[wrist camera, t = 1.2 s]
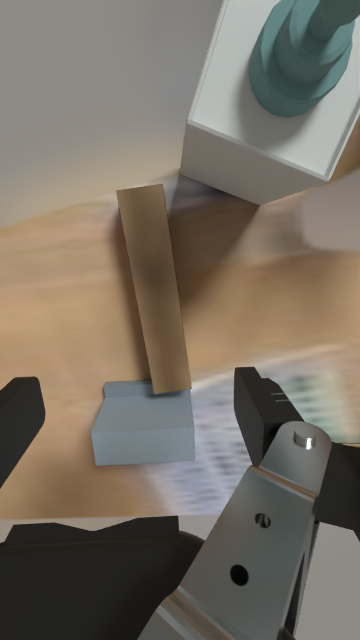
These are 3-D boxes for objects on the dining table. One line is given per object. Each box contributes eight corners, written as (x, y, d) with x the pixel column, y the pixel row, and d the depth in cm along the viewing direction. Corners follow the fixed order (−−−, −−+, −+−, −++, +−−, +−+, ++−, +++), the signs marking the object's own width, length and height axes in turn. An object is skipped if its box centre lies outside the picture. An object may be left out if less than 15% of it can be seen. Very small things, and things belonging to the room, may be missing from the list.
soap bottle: (209, 71, 24) (317, -404, 6) (298, 111, 26) (612, -197, 7) (177, 173, 27) (188, 43, 9) (260, 206, 28) (427, 152, 10)
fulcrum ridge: (189, 378, 33) (194, 414, 27) (190, 427, 35) (195, 472, 29) (105, 382, 33) (88, 419, 26) (111, 431, 35) (97, 477, 28)
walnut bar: (163, 190, 28) (162, 183, 24) (189, 371, 33) (191, 388, 30) (123, 196, 28) (116, 190, 24) (156, 375, 33) (154, 393, 30)
